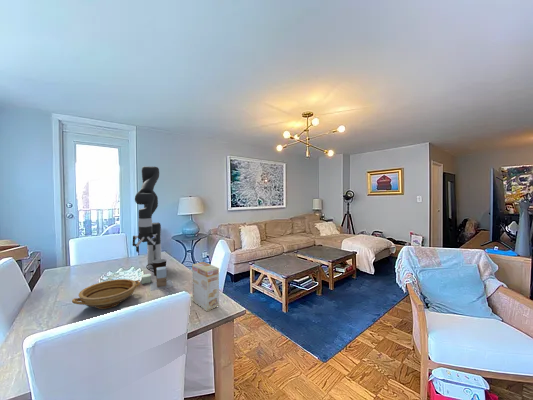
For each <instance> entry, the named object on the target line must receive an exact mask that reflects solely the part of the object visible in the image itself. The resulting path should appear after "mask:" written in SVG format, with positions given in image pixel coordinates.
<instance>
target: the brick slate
mask: <svg viewBox="0 0 533 400" xmlns="http://www.w3.org/2000/svg"><path fill="white" fill-rule="evenodd" d="M166 266H167V265H166ZM166 266H165V267H158V268H157V276H156V280H157V279H158V278H165V277H166V278H167V267H166Z"/></svg>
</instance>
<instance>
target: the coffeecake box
mask: <svg viewBox="0 0 533 400" xmlns="http://www.w3.org/2000/svg"><path fill="white" fill-rule="evenodd" d="M191 267H192V269H191V272H192V274H191V275H192V277H191V278H192V279H191V280H192V281H191V282H192V287H191V288H192V289H191V290H192V302H193V301H194V302H193V303H195V304H196V303H197V304H198V305H197V304H196V305H197V306H199V307H200V306H201V307H200V308H201V309H203V308H204V309H205V310H204V311H206V312H209V311H211V309H212V310H214V309H213V308H215V307H217V306H219V307H220V276H219V275H220V272H219V271H220V268H219V267H217V266H215V265H212V264H210V263H208V262H205V261H201V262H197V263H193V264H192V266H191ZM217 308H218V307H217ZM215 309H216V308H215ZM208 310H209V311H208Z"/></svg>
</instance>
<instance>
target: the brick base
mask: <svg viewBox="0 0 533 400" xmlns="http://www.w3.org/2000/svg"><path fill="white" fill-rule="evenodd" d="M166 280H167V276H166V277H165V278H158V279H157V278H156V282H157V287H161V286H166Z"/></svg>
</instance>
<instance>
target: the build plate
mask: <svg viewBox="0 0 533 400" xmlns="http://www.w3.org/2000/svg"><path fill="white" fill-rule="evenodd" d="M149 287H150V291H157V290H162V289H168V288H174V284H173V281H172V279H166V286H161V287H157V281H154V282H150V284H149Z"/></svg>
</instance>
